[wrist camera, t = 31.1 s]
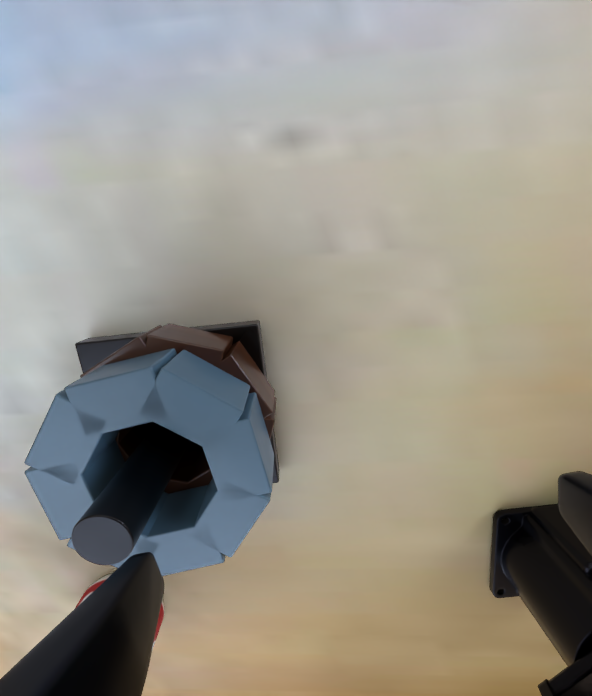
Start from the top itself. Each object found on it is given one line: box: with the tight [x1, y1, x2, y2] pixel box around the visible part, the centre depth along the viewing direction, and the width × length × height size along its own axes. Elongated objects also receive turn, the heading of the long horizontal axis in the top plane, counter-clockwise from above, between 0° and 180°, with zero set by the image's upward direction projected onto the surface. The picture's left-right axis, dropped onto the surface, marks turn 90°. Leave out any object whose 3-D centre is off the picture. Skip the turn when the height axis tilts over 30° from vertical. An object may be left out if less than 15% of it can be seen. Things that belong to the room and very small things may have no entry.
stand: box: [71, 320, 279, 565], centre depth 14 cm, size 9×9×9 cm
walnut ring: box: [80, 324, 276, 494], centre depth 16 cm, size 9×9×3 cm
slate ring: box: [25, 348, 274, 576], centre depth 14 cm, size 9×9×3 cm
